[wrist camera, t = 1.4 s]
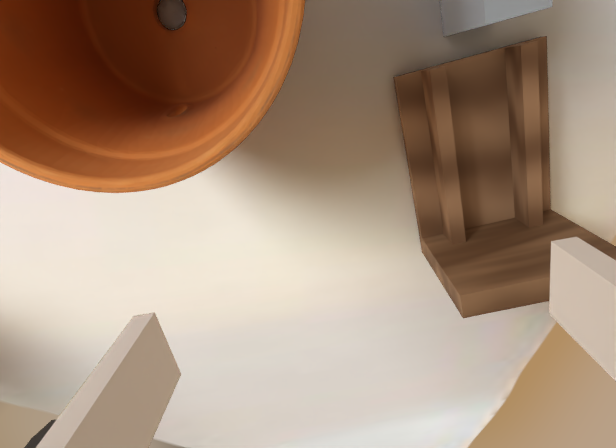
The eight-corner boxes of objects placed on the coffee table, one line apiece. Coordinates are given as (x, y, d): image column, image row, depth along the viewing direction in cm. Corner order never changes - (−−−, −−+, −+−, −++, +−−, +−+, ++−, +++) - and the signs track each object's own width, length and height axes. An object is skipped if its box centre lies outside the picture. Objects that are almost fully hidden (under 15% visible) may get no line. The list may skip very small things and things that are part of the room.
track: (393, 77, 32) (432, 78, 22) (539, 37, 31) (654, 19, 20) (422, 252, 38) (463, 318, 28) (544, 224, 37) (635, 283, 26)
